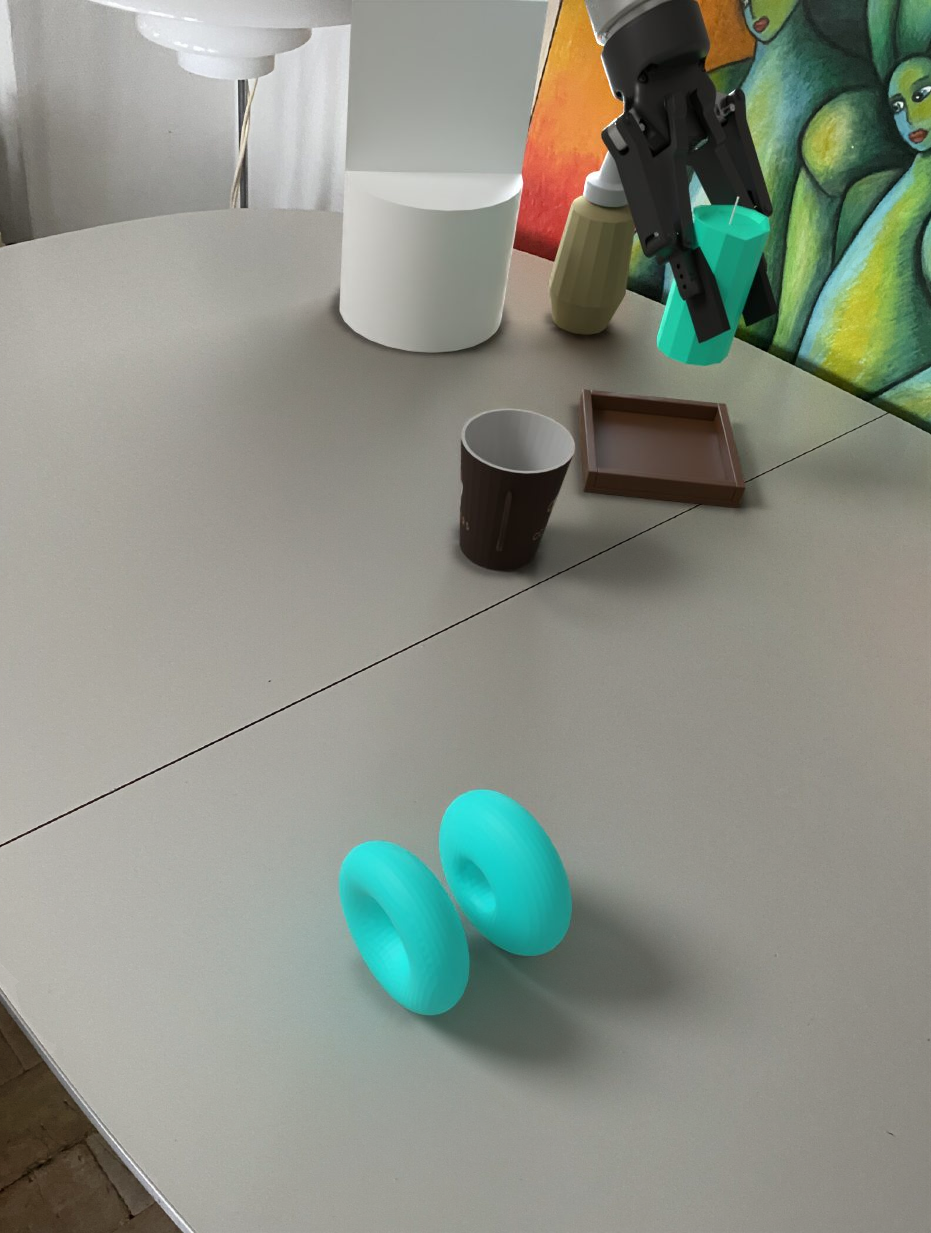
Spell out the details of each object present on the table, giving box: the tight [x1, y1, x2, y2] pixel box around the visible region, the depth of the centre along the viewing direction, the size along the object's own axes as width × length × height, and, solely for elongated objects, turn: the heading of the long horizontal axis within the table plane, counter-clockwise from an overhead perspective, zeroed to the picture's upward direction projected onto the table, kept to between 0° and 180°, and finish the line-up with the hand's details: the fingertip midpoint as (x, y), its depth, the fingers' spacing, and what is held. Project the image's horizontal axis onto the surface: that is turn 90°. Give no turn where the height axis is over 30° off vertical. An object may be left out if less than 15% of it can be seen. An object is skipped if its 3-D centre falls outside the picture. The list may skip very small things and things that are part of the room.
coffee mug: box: [458, 407, 576, 572], centre depth 83 cm, size 12×9×10 cm
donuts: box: [338, 788, 573, 1016], centre depth 59 cm, size 10×10×10 cm
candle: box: [656, 197, 771, 367], centre depth 84 cm, size 6×6×12 cm
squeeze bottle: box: [547, 149, 636, 335], centre depth 106 cm, size 8×8×18 cm
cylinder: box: [339, 0, 549, 354], centre depth 102 cm, size 17×17×28 cm
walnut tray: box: [577, 388, 747, 509], centre depth 97 cm, size 14×14×2 cm
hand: (738, 327), depth 84 cm, fingers closed on candle, 5 cm apart
